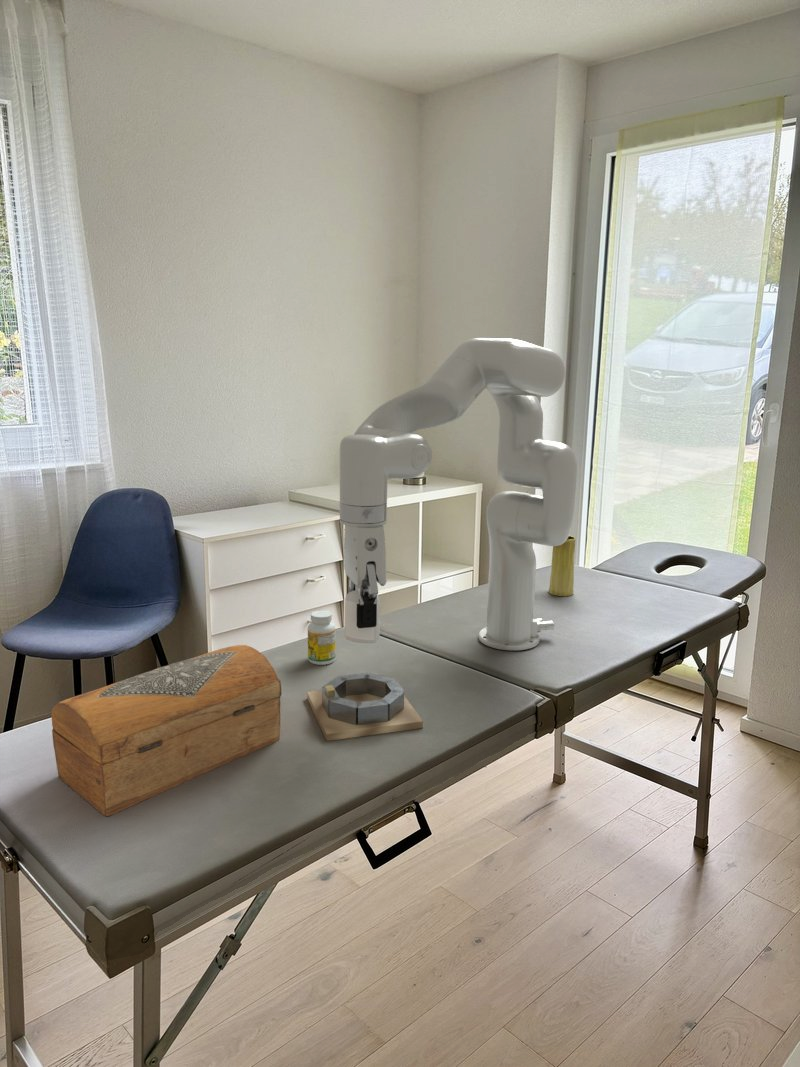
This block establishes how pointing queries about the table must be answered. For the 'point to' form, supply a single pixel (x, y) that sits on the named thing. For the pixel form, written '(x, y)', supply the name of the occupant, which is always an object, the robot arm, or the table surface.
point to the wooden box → (165, 726)
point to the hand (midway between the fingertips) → (362, 620)
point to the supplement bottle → (321, 638)
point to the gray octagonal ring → (362, 710)
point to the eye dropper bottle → (351, 620)
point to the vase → (563, 568)
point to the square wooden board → (343, 730)
